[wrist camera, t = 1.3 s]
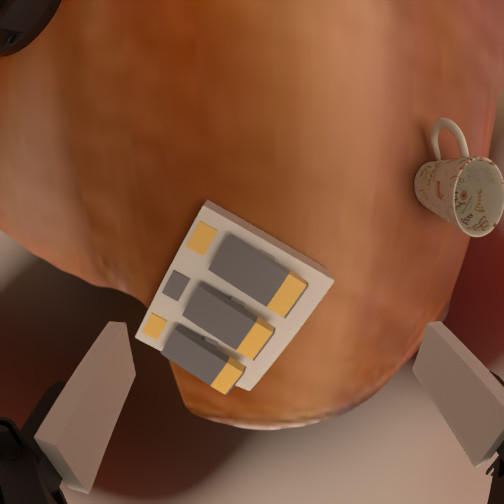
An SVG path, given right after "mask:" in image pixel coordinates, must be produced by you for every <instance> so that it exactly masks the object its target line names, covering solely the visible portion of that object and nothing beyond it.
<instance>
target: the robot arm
mask: <svg viewBox="0 0 504 504" xmlns="http://www.w3.org/2000/svg"><path fill="white" fill-rule="evenodd" d="M59 3H60V0H0V56H6V55H10V54H13V53H15V52H17V51H19V50H20V49H22V48H23V47H25V46H26V45H27V44H29V43H30V42H31V41H32V40H33V39H34V38H35V37H36V36H37V35H38V34H39V33H40V32H41V31H42V30H43V28H44V27H45V26H46V25H47V23H48V22H49V21H50V19H51V18H52V16H53V14H54V13H55V11H56V9H57V7H58V5H59ZM412 371H413V373H414V374H415V375H416V377H417V378H418V380H419V381H420V382H421V384H422V386H423V387H424V389H425V390H426V392H427V393H428V395H429V396H430V398H431V399H432V401H433V402H434V403H435V405H436V407H437V408H438V410H439V411H440V413H441V414H442V416H443V417H444V419H445V420H446V422H447V423H448V425H449V427H450V428H451V430H452V431H453V433H454V435H455V436H456V438H457V439H458V441H459V443H460V444H461V446H462V447H463V449H464V451H465V452H466V454H467V455H468V457H469V459H470V461H471V462H472V464H473V466H474V467H477V466H480V465H482V464H484V463H486V462H488V461H489V460H490V458H491V457H492V456H493V455H494V453H495V452H497V453H498V454H499V456H498V457H497V459H496V460H495V461H494V462H493V464H492V465H491V466H490V467H489V468H488V470H487V471H486V474H487V475H488V473H489V472H490V471H491V470H492V468H494V471H493V472H492V474H491V476H493V478H492V484H491V489H490V494H489V499H488V503H487V504H504V382H503V381H502V379H501V378H500V377H499V376H497V375H496V374H494V373H493V372H491V371H488V370H487V368H486V367H485V366H484V365H483V364H482V363H481V362H480V361H479V360H478V359H477V358H476V357H475V356H474V355H473V354H472V353H471V352H470V351H469V350H468V349H467V348H466V347H465V346H464V345H463V343H462V342H461V341H459V340H458V338H457V337H456V336H455V335H454V334H453V333H452V332H450V330H448V328H446V327H445V326H444V325H443V324H442V323H441V322H440V321H439V322H429V323H428V324H427V327H426V330H425V334H424V337H423V340H422V343H421V346H420V349H419V352H418V355H417V358H416V361H415V364H414V366H413V369H412ZM135 375H136V373H135V369H134V364H133V359H132V354H131V349H130V344H129V339H128V334H127V327H126V323H121V322H109V323H108V324H107V325H106V327H105V328H104V330H103V331H102V332H101V334H100V335H99V337H98V338H97V339H96V341H95V342H94V344H93V345H92V347H91V348H90V350H89V351H88V353H87V354H86V356H85V357H84V358H83V360H82V362H81V363H80V364H79V366H78V367H77V369H76V370H75V372H74V373H73V375H72V376H71V378H70V380H69V381H68V383H64V382H60V381H58V382H56V383H55V384H53V385H52V386H51V387H49V388H48V389H47V390H46V392H45V393H44V395H43V396H42V398H41V400H40V401H39V402H38V404H37V405H36V408H34V410H33V411H32V413H31V414H30V416H29V417H28V419H27V420H26V422H25V424H24V425H23V427H22V428H21V430H20V431H19V429H18V427H17V426H16V424H15V423H14V422H13V421H12V420H11V419H8V418H5V417H0V504H67V502H66V499H65V497H64V495H63V492H62V491H61V489H60V488H59V486H60V484H61V481H62V480H63V481H64V482H65V484H66V485H67V486H68V487H69V488H71V489H74V490H77V491H80V492H83V493H86V494H89V493H90V490H91V488H92V485H93V482H94V479H95V476H96V473H97V470H98V468H99V465H100V462H101V460H102V457H103V455H104V452H105V449H106V446H107V444H108V441H109V439H110V436H111V434H112V431H113V429H114V426H115V424H116V421H117V419H118V416H119V414H120V411H121V409H122V406H123V404H124V401H125V399H126V397H127V394H128V392H129V389H130V387H131V384H132V382H133V380H134V378H135Z"/></svg>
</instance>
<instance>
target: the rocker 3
mask: <svg viewBox="0 0 504 504" xmlns="http://www.w3.org/2000/svg"><path fill="white" fill-rule="evenodd" d="M161 354H162V355H164V356H165V357H167V358H168V359H170V360H171V361H173V362H174V363H176V364H177V365H179V366H180V367H182V368H183V369H185V370H186V371H188V372H189V373H191V374H192V375H194V376H196V377H197V378H199V379H200V380H202V381H204V382H205V383H207V384H209V385H210V386H211V387H213V388H215V389H216V390H218V391H220V392H221V393H223V394H225V395H228V393H229V392H230V391H231V390H232V388H233V387H234V386H235V385H236V383H237V382H238V381H239V379H240V378H241V377H242V376H243V374H244V373H245V370H246V366H245V365H243V364H241V363H240V362H238V361H236V360H235V359H233V358H232V357H229V356H228V355H226V354H225V353H223V352H221V351H220V350H218V349H217V348H215V347H213V346H212V345H210V344H209V343H207V342H206V341H204V340H203V339H201V338H199V337H198V336H196V335H195V334H193V333H192V332H190V331H189V330H187V329H186V328H184V327H183V326H181V325H180V324H178V325H177V326H176V327H175V328H174V330H173V332H172V333H171V335H170V337H169V339H168V341H167V342H166V344H165V346H164V348H163V350H162V351H161Z"/></svg>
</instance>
